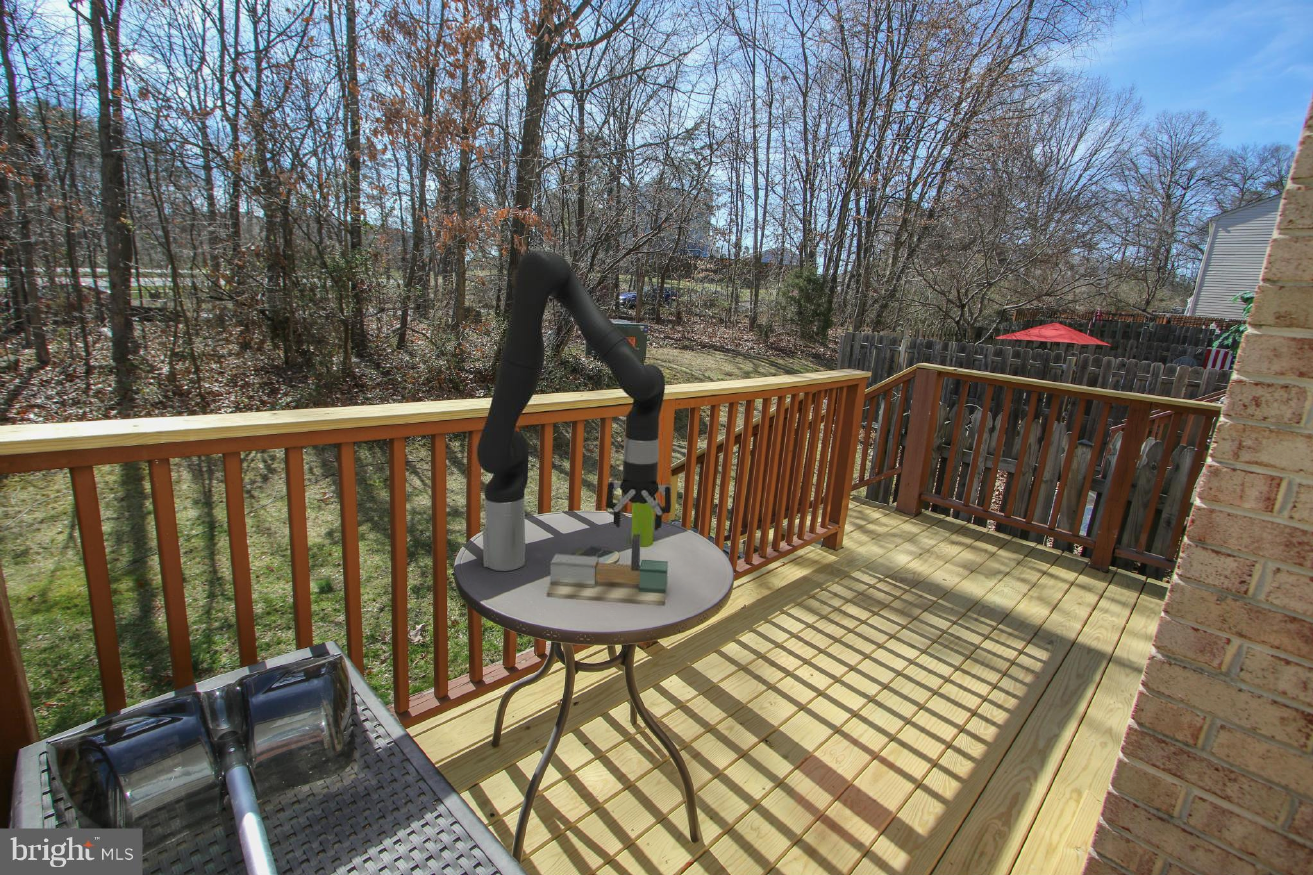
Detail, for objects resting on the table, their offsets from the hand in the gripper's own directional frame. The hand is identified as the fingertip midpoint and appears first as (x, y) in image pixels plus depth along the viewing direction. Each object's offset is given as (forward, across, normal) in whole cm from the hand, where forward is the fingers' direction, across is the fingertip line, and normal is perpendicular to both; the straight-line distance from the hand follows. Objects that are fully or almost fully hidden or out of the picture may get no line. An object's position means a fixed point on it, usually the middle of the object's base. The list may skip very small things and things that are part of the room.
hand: (637, 527), depth 136 cm
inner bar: (+13, -4, 0) cm, 13 cm away
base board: (+15, -6, 0) cm, 16 cm away
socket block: (+15, +4, 0) cm, 16 cm away
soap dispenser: (+15, -1, +27) cm, 31 cm away
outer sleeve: (+15, -14, 0) cm, 21 cm away
